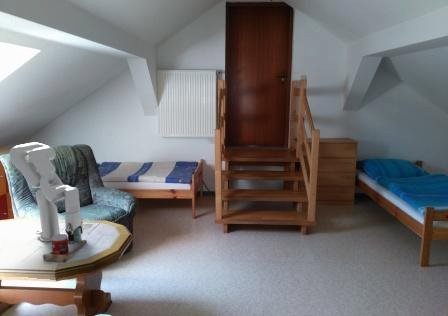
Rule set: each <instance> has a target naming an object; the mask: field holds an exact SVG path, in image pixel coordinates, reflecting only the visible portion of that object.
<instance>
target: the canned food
mask: <svg viewBox="0 0 448 316" xmlns="http://www.w3.org/2000/svg"><path fill="white" fill-rule="evenodd" d="M50 242H51V251H53V254H56V255H68V254H69V253H70V249H69V243H68V235H67V233H66V234H65V233H63V234H58V235H55V236H53V237H52V238H51V241H50Z"/></svg>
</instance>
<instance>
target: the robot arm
mask: <svg viewBox="0 0 448 316" xmlns="http://www.w3.org/2000/svg"><path fill="white" fill-rule="evenodd" d="M56 155H57V154H56V151H55V149H54V148H52V147H51V146H49V145H46V144H43V143H39V142H29V143H24V144H19V145H15V146H14V147H12V148H10V150H9V159H10V161H11V162H12V165H14V166H15V168H16V169H17V170H18V171H19V172H20V173H21V175H22V176H23V177H24V179H25V180H26V182H27V183H28V184H29V186H30V187H31V188H33V189H37V190H36V192H35V199H36V202H37V205H38V211H39V218H40V227H41V228H40V229H37V230H36V235H39V240H40V241H41V242H45V243H46V242H47V243H48V242H51V238H52V237H53V236H55V235H58V234H64V233H63V232H62V231H60V223H59V222H60V221H59V214H58V207H57V206H56V205H55V202H56V203H57V202H58V201H62V200H64V207H65V217H64V219H65V222H64V223H65V233H66V235H67V237H68V241H74V235H73V231H74V230H75V229H76V228H81V235H83V223H84V220H83V219H84V218H83V217H82V215H81V213H82V212H81V206H80V194H79V193H80V192H79V189H78V187H74V186H70V185H68V184H64V183H63V182H62V180H61V179H60V177H59V176H58V174H57V173H56V168H55V166H54V165H53V163H52V161H53V160H55V159H56ZM28 159H30V160H28ZM70 228H72V229H70ZM70 230H72V231H71V232H70Z"/></svg>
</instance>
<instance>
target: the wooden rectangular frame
mask: <svg viewBox="0 0 448 316" xmlns="http://www.w3.org/2000/svg"><path fill="white" fill-rule="evenodd" d="M70 229H72V228H70ZM71 231H72V230H70V232H71ZM73 235H74V241H68V244H73V245H74V244H78V245H77V246H76V247H75V248H73V249H72V251H71V252H70V251H69V254H68V255H56V254H53V250H51V251H50V252H49V253H44V254H43V255H42V260H43V261H44V262H61V263H62V262H63V263H65V262H68V261H69V260H70V258H71V257H72V256H74V255H75V254H76V253H78V251H79V250H81V249H82V248H83V247H84V246H85V245H86V244H88V240H87V239H82V234H81V228H76V229H75V230H74V231H73Z"/></svg>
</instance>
